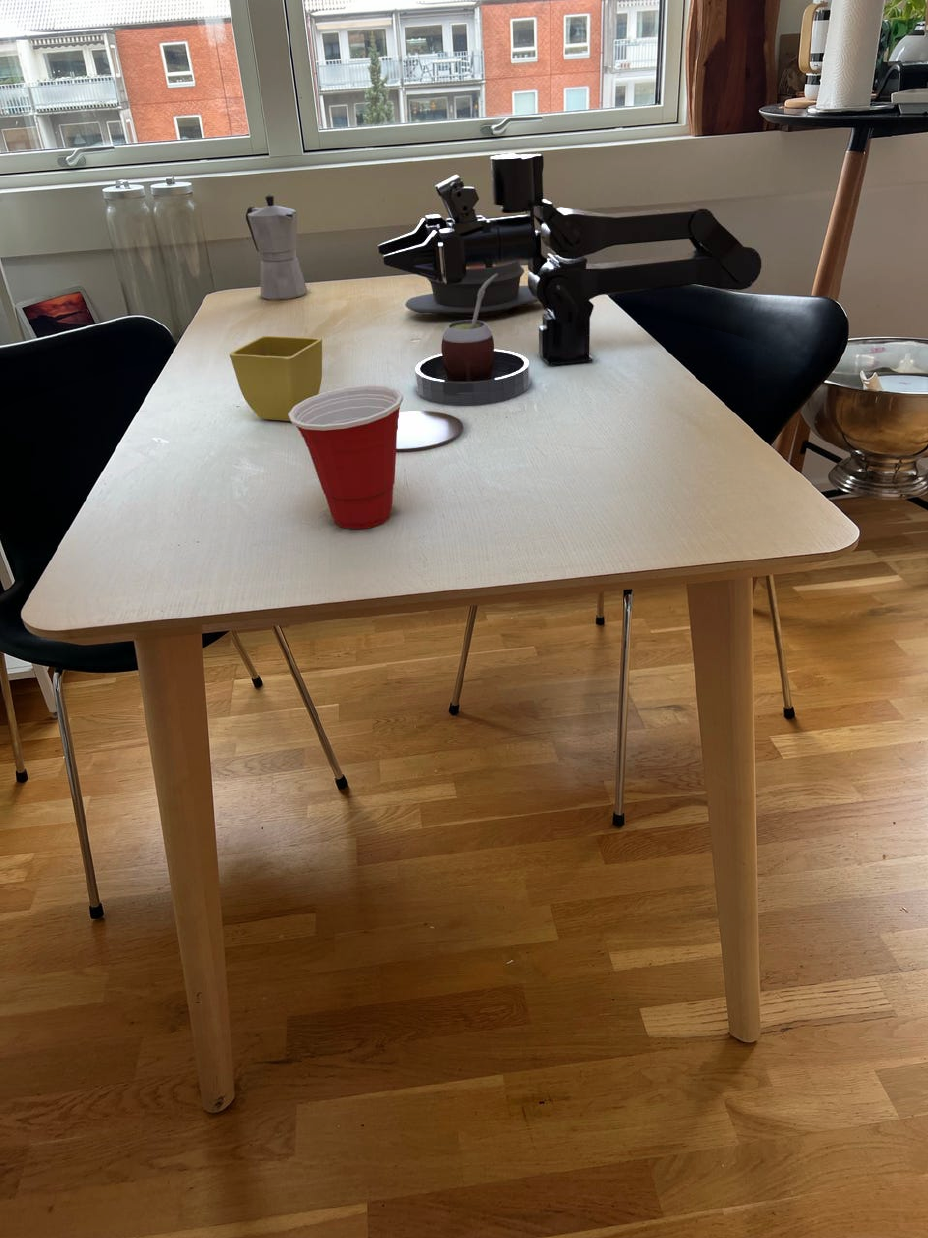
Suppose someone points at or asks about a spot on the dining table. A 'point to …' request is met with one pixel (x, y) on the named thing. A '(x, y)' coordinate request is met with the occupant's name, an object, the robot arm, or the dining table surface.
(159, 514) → the dining table surface
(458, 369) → the mate gourd
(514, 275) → the casserole
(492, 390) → the pan
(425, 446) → the disc
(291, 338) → the flower pot
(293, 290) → the coffeepot
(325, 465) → the plastic cup
